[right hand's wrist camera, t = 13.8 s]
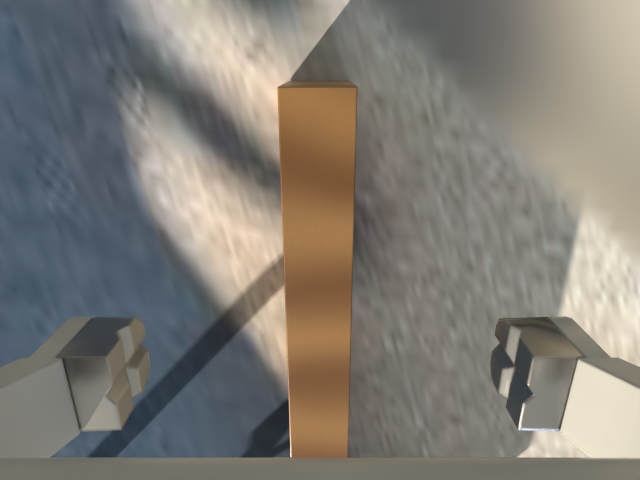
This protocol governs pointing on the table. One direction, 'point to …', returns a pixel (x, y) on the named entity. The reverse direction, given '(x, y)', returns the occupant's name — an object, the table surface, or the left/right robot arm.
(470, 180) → the table surface
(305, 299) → the beam
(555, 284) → the table surface
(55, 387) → the right robot arm
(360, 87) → the table surface
